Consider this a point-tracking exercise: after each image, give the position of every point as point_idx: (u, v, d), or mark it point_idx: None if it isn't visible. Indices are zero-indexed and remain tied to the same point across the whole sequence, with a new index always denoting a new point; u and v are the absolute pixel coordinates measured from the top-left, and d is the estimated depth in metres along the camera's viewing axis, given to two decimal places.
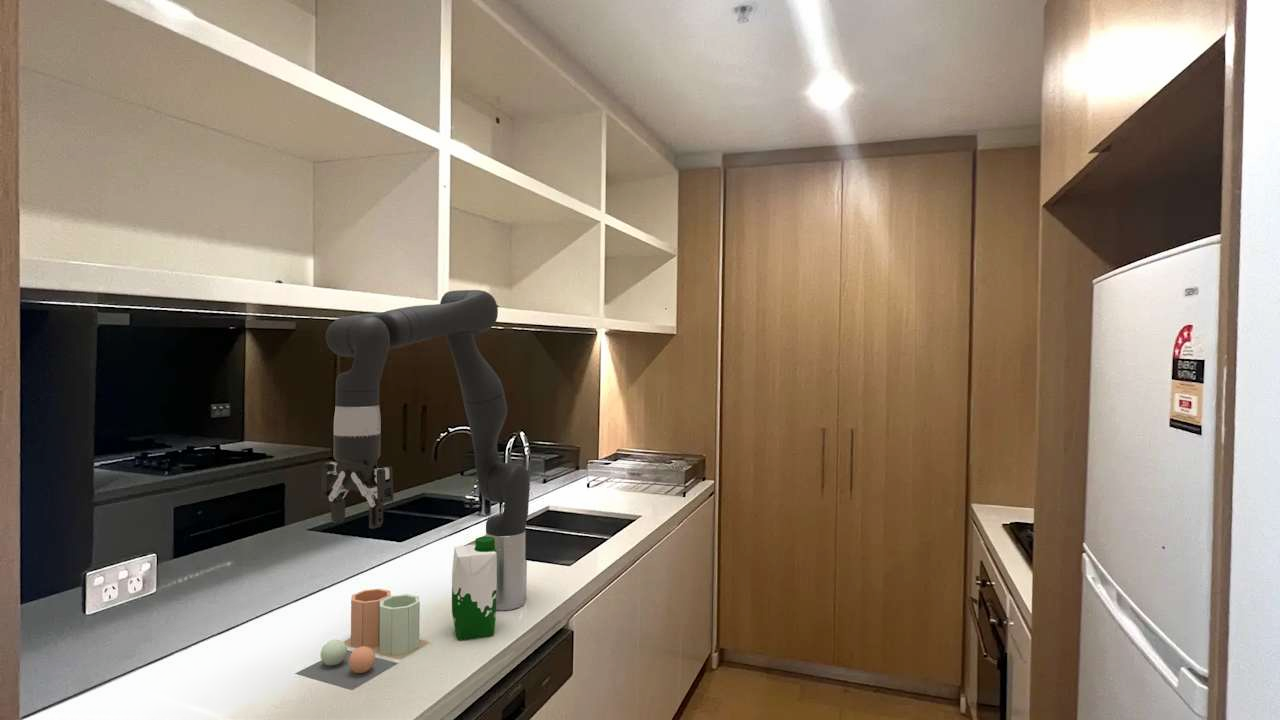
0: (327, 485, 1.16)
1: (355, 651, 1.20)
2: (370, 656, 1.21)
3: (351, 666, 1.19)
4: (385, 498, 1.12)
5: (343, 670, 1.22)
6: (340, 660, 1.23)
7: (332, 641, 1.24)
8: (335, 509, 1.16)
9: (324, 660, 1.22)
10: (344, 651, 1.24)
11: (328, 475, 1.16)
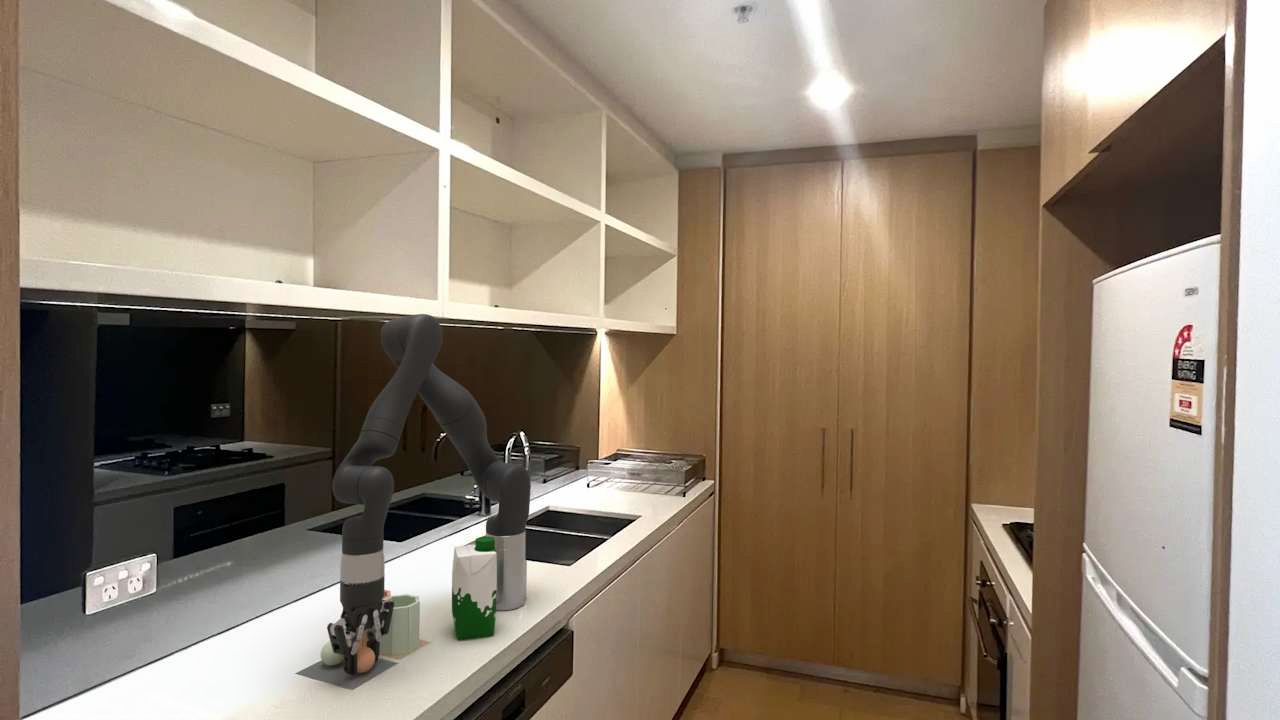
0: None
1: None
2: (370, 656, 1.21)
3: None
4: None
5: (343, 670, 1.22)
6: (340, 660, 1.23)
7: None
8: (356, 660, 1.19)
9: (324, 660, 1.22)
10: None
11: (343, 633, 1.16)
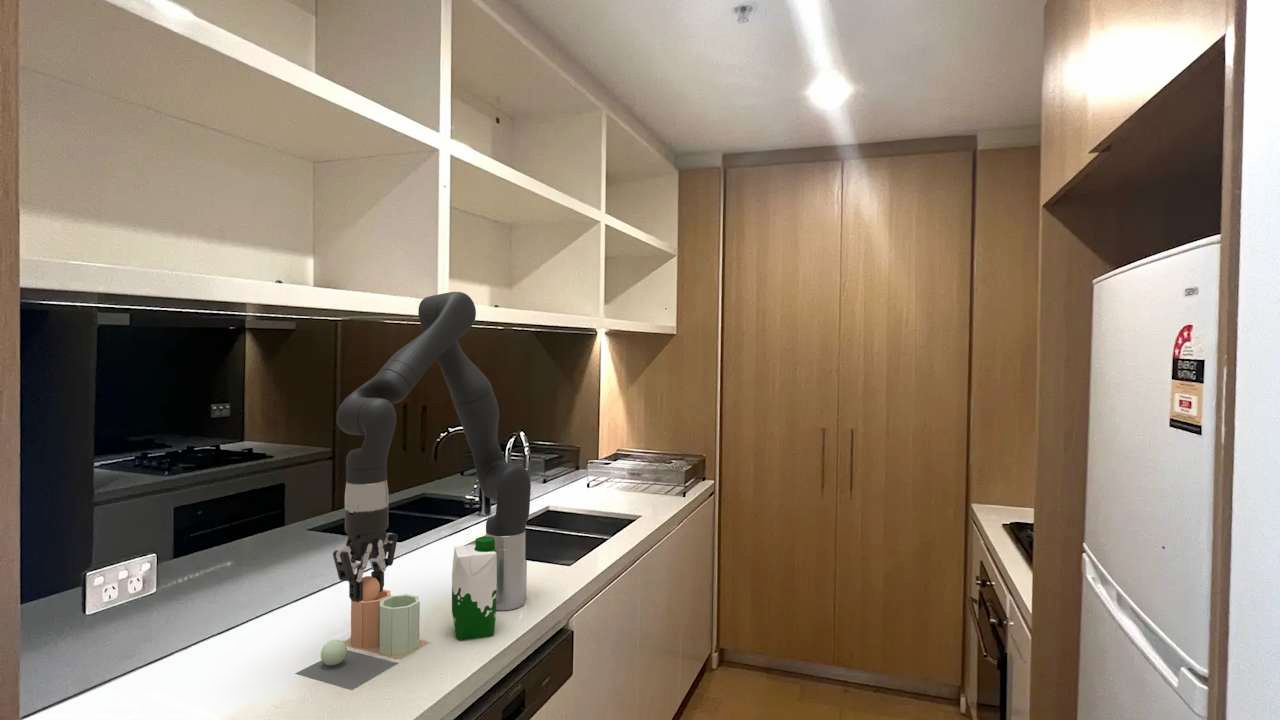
0: (351, 569, 1.18)
1: None
2: (375, 585, 1.22)
3: None
4: None
5: (343, 670, 1.22)
6: (340, 660, 1.23)
7: (332, 641, 1.24)
8: (361, 587, 1.21)
9: (324, 660, 1.22)
10: (344, 651, 1.24)
11: None
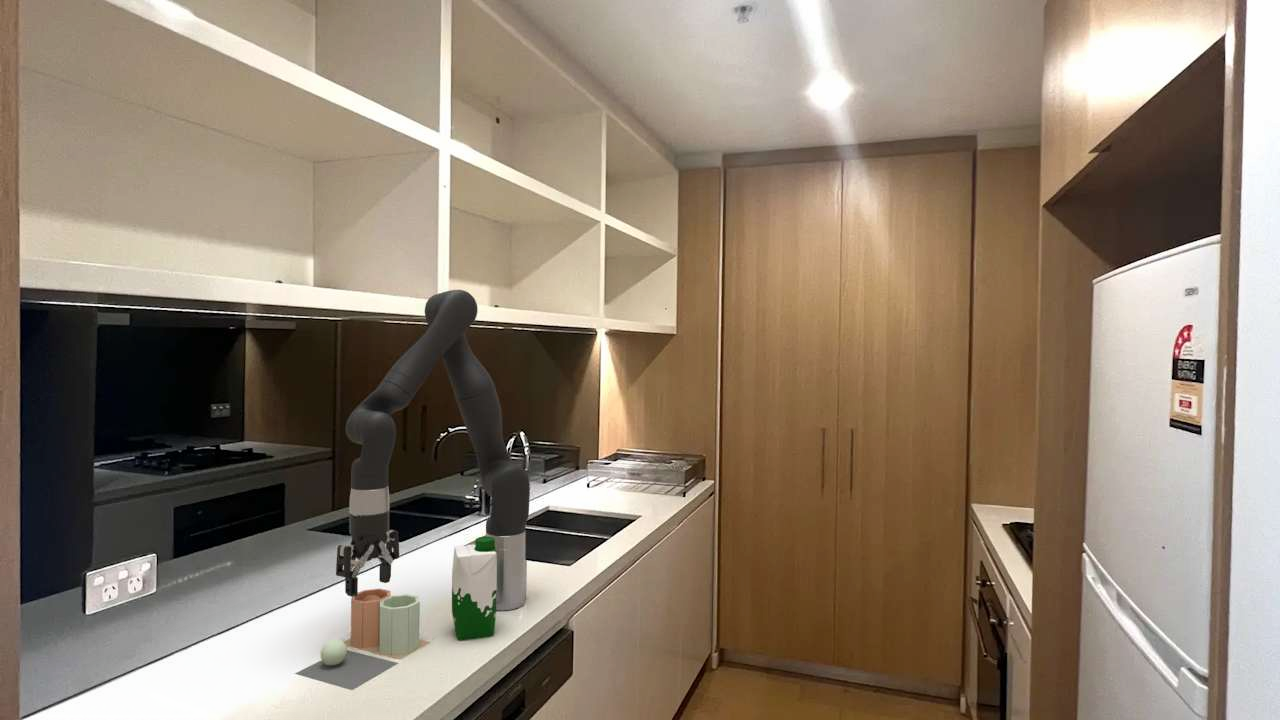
0: (349, 565, 1.28)
1: None
2: (379, 597, 1.36)
3: None
4: None
5: (343, 670, 1.22)
6: (340, 660, 1.23)
7: (332, 641, 1.24)
8: (357, 583, 1.30)
9: (324, 660, 1.22)
10: (344, 651, 1.24)
11: None
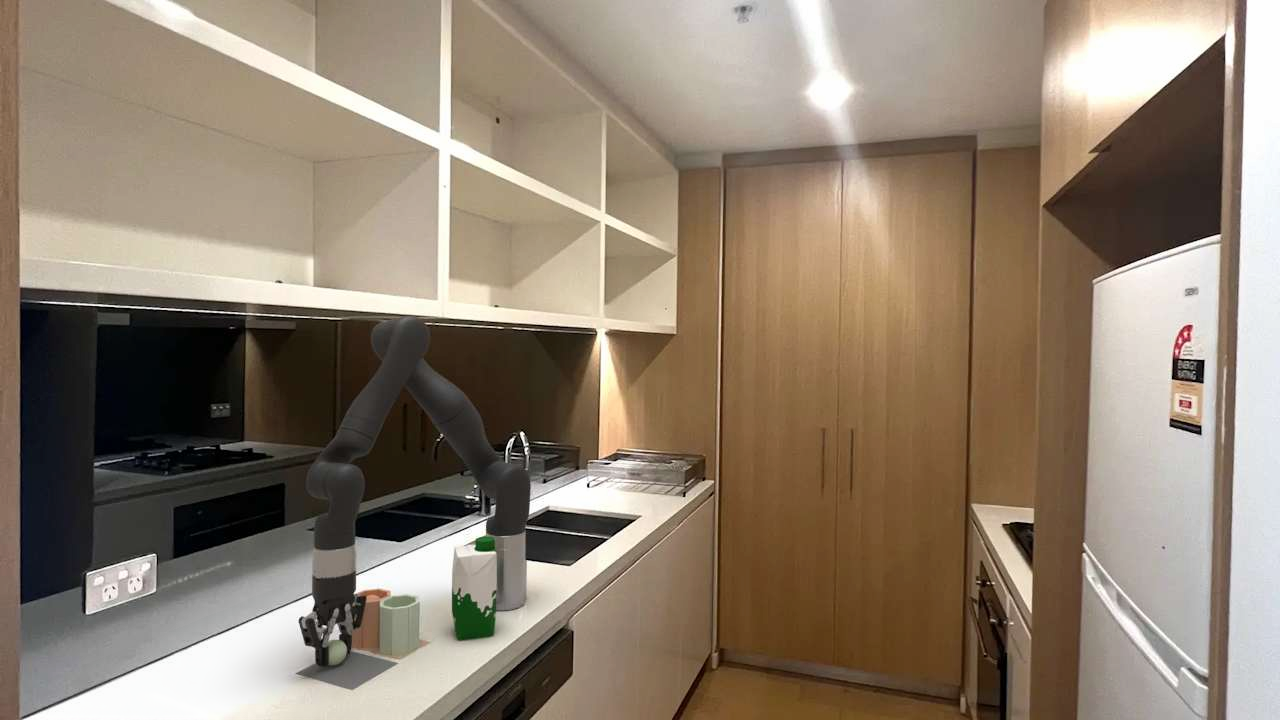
0: (317, 635, 1.19)
1: None
2: (379, 597, 1.36)
3: None
4: None
5: (343, 670, 1.22)
6: (340, 660, 1.23)
7: (332, 641, 1.24)
8: (327, 652, 1.22)
9: None
10: (344, 651, 1.24)
11: None
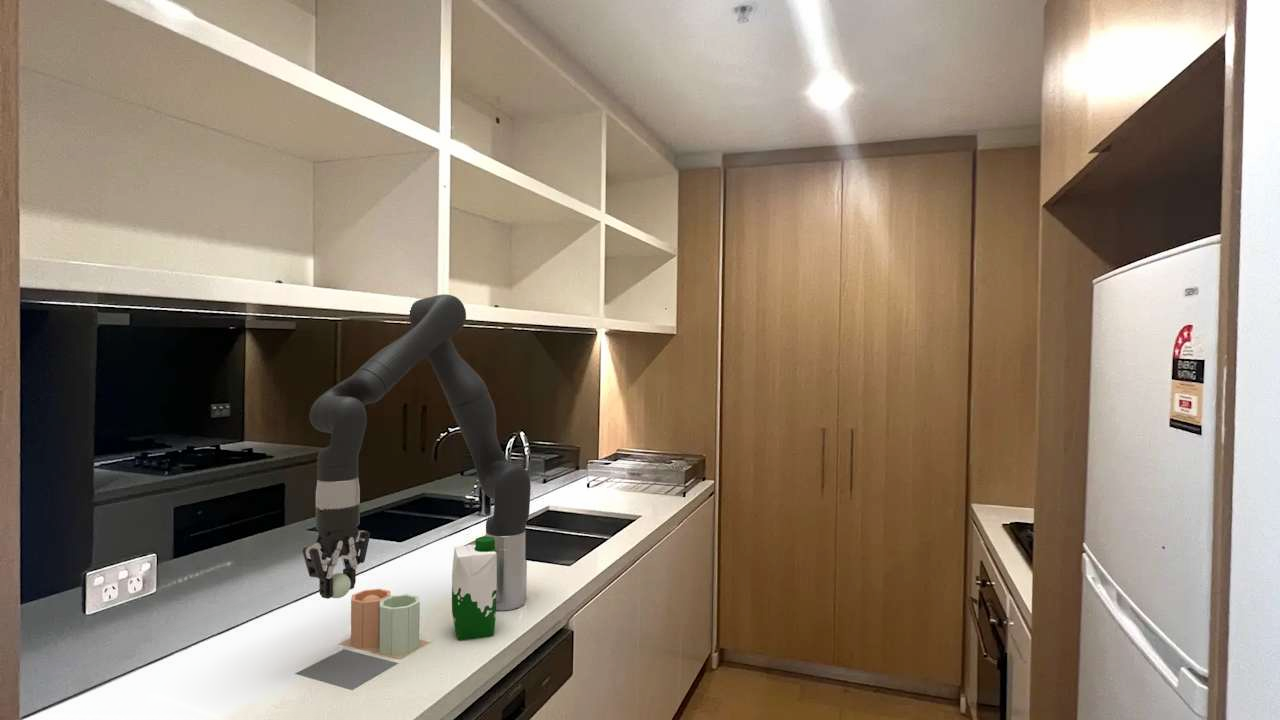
0: None
1: None
2: (379, 597, 1.36)
3: None
4: None
5: (343, 670, 1.22)
6: (344, 593, 1.23)
7: (336, 574, 1.24)
8: (332, 584, 1.22)
9: None
10: (348, 584, 1.24)
11: None
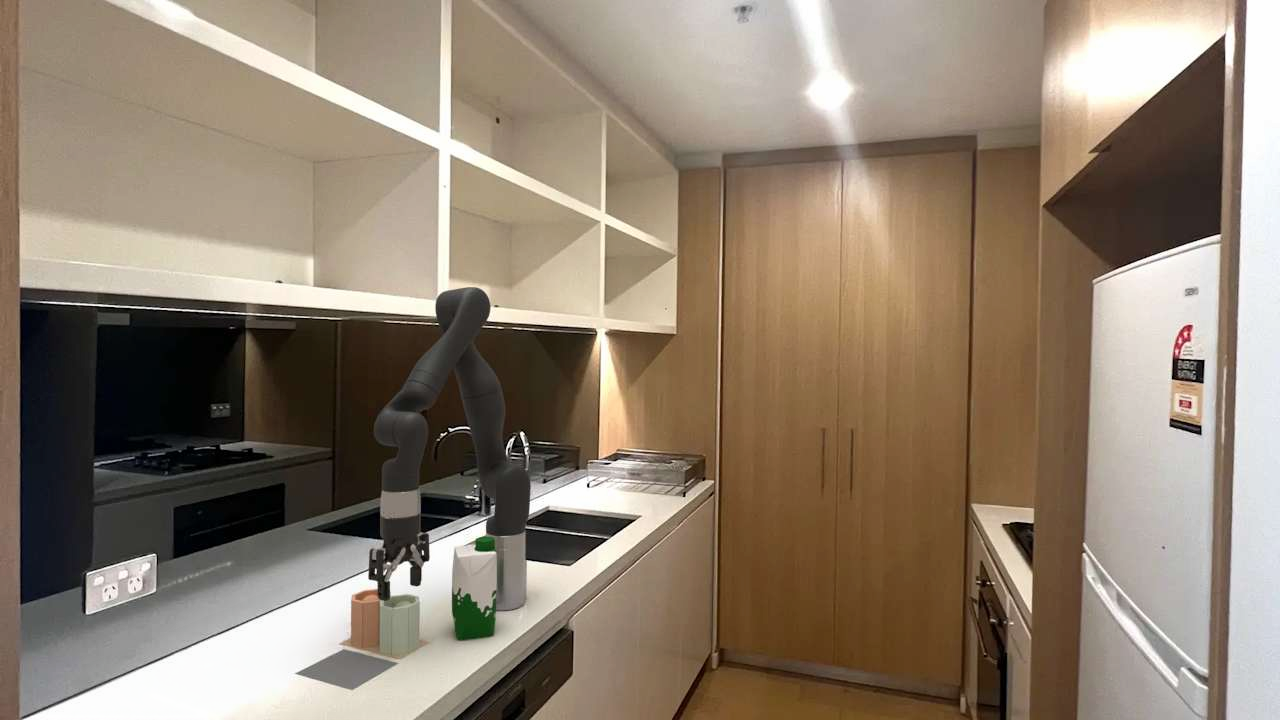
0: None
1: None
2: None
3: None
4: None
5: (343, 670, 1.22)
6: None
7: None
8: (389, 587, 1.28)
9: None
10: None
11: None
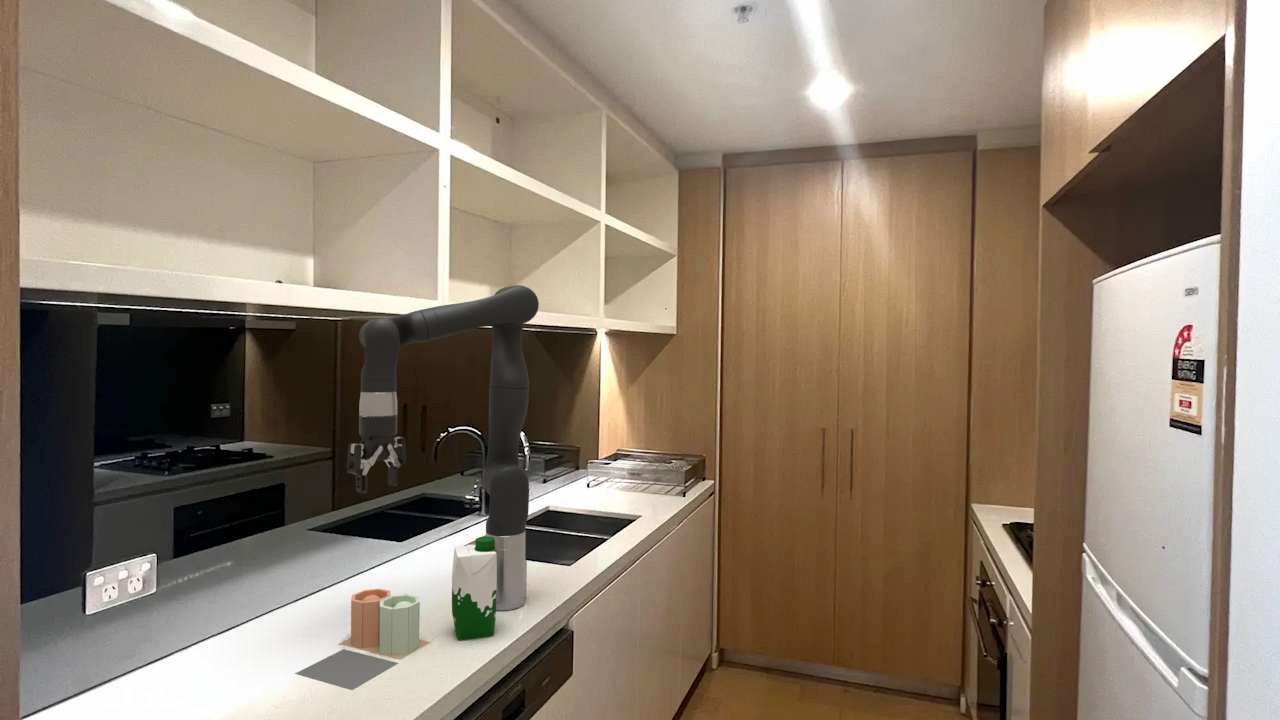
0: (360, 463, 1.35)
1: None
2: (379, 597, 1.36)
3: None
4: None
5: (343, 670, 1.22)
6: None
7: None
8: (366, 481, 1.37)
9: None
10: None
11: None
